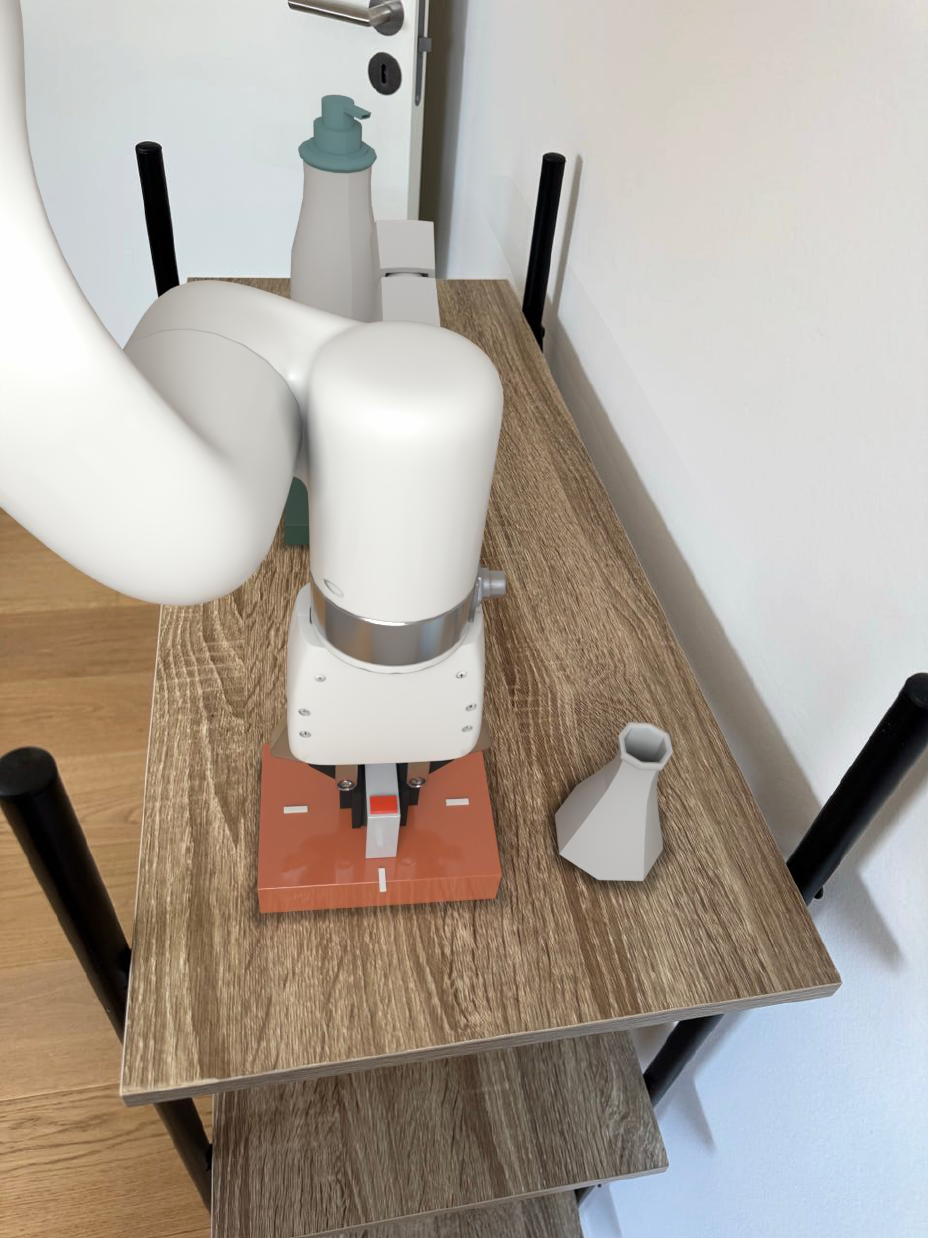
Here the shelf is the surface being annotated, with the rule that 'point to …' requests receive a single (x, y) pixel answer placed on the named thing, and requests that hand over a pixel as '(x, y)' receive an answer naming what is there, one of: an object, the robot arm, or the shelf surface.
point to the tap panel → (335, 853)
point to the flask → (618, 810)
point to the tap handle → (381, 810)
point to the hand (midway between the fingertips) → (377, 805)
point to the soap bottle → (335, 216)
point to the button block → (297, 514)
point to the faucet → (404, 271)
